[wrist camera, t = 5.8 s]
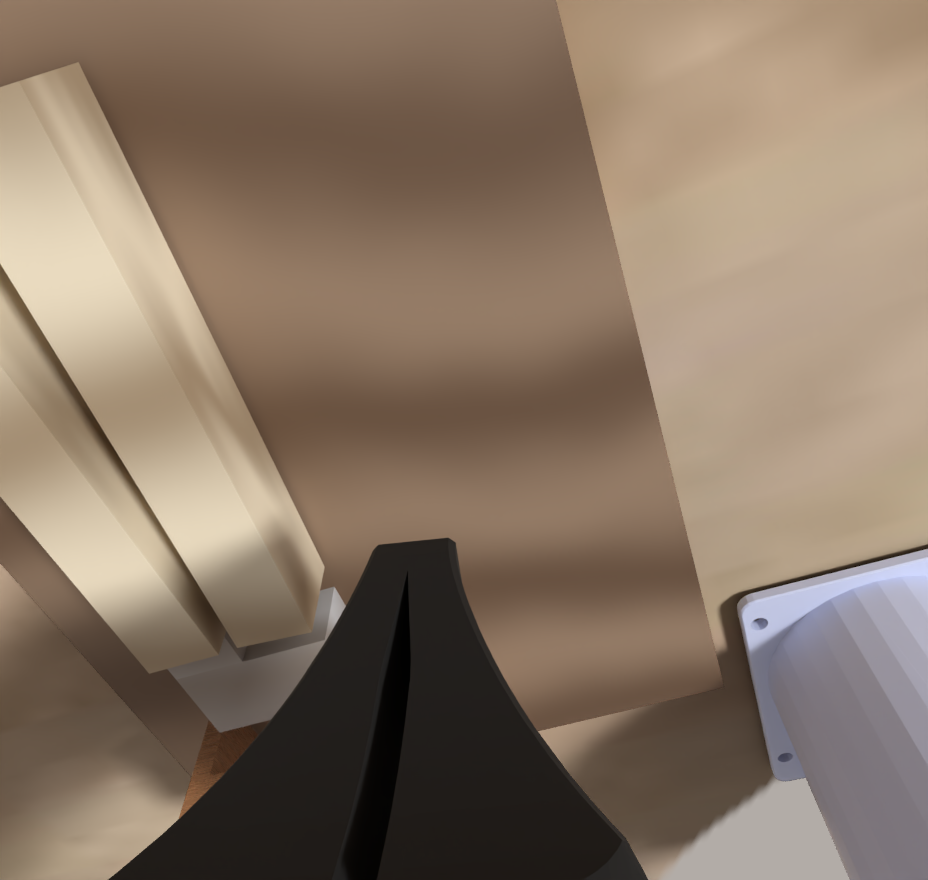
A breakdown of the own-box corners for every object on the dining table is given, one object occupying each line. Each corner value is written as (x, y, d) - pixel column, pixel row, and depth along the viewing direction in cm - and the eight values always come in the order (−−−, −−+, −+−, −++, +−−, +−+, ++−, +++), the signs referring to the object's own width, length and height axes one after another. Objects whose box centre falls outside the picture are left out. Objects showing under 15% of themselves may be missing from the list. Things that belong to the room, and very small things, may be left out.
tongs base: (715, 662, 25) (751, 760, 22) (224, 780, 28) (197, 881, 25) (447, -414, 12) (448, -534, 9) (-431, 17, 15) (-654, 36, 12)
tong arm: (324, 567, 21) (311, 632, 19) (256, 582, 22) (237, 648, 20) (78, 62, 14) (18, 81, 12) (-17, 92, 15) (-90, 116, 13)
